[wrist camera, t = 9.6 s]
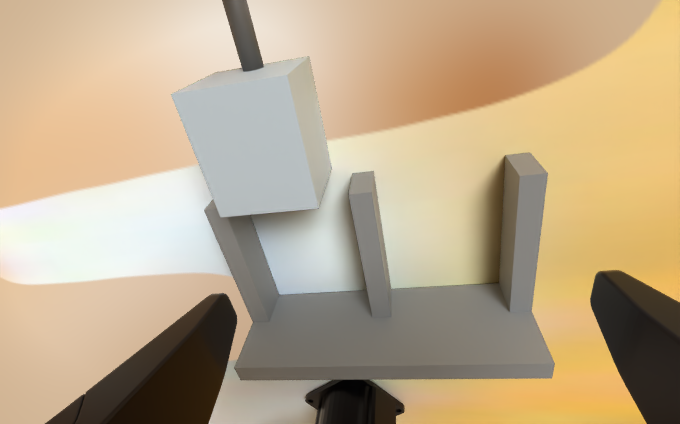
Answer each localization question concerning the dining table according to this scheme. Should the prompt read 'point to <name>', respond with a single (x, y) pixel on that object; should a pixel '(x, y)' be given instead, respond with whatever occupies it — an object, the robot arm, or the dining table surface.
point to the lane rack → (397, 304)
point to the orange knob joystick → (257, 129)
